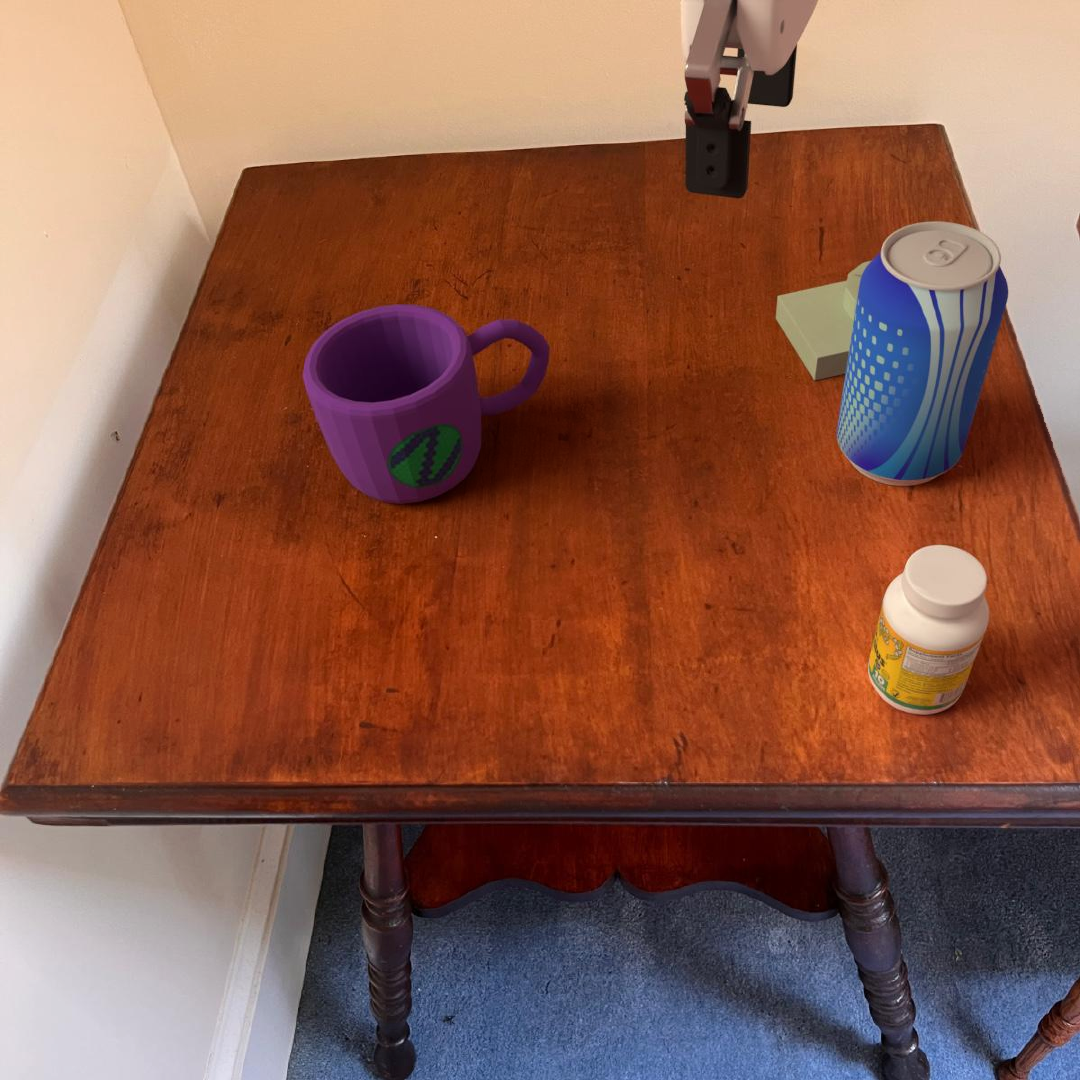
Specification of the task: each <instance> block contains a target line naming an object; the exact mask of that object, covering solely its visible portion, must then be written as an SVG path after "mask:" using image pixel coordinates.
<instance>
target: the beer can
mask: <svg viewBox="0 0 1080 1080" xmlns="http://www.w3.org/2000/svg"><path fill="white" fill-rule="evenodd" d="M870 261H871V262H870V263H869V264H868V266H867V267H866V268H865V270H864V272H863V274H862V276H861V280H860V285H859V291H858V297H857V304H856V310H855V316H854V323H853V329H852V336H851V342H850V348H849V355H848V361H847V367H846V374H844V380H843V385H842V386H843V387H842V393H841V399H840V406H839V412H838V419H837V425H836V441H837V444H838V446H839V448H840V450H841V452H842V453H843V455H844V456H845V457H846V458H847V460H848V461H849V462H850V464H851V465H852V466H853V468H854V469H856V470H857V471H858V472H859V473H860V474H862V476H865V477H866V478H869V479H871V480H873V481H875V482H877V483H879V484H880V483H881V484H884V485H889V486H895V487H911V486H917V485H922V484H924V483H927V482H930V481H932V480H934V479H936V478H937V477H938V476H941V475H942V474H945V473H946V472H948V471H949V470H951V469H952V468H954V467H955V465H956V464H957V463H958V462H959V461H960V460H961V458H962V456H963V454H964V451H965V448H966V445H967V441H968V437H969V434H970V430H971V427H972V423H973V420H974V417H975V413H976V410H977V408H978V407H977V406H978V403H979V399H980V396H981V393H982V389H983V386H984V382H985V379H986V376H987V372H988V370H989V369H988V368H989V365H990V362H991V358H992V356H993V352H994V348H995V345H996V341H997V339H998V334H999V331H1000V327H1001V324H1002V320H1003V317H1004V313H1005V310H1006V307H1007V303H1008V300H1009V299H1008V298H1009V286H1008V281H1007V278H1006V276H1005V274H1004V272H1003V270H1002V268H1001V262H1002V256H1001V251H1000V248H999V247H998V245H997V244H996V242H995V241H994V240H993V239H991V237H989V236H988V235H987V234H985V233H984V232H982V231H980V230H978V229H976V228H973V227H971V226H968V225H966V224H965V225H964V224H961V223H960V224H959V223H957V222H956V223H955V222H950V221H922V222H917V223H912V224H909V225H905V226H903V227H900V228H899V229H896V230H895V231H894V232H892V233H891V234H890V235H889V236H887V237H886V239H885V240H884V241H883V243H882V246H881V250H880V252H878V254H877V255H876V256H875V257H874V258H873V259H872V260H870Z"/></svg>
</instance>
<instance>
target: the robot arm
mask: <svg viewBox="0 0 1080 1080" xmlns="http://www.w3.org/2000/svg"><path fill="white" fill-rule="evenodd" d="M818 2H819V0H680V5H679V6H680V7H679V8H680V41H681V52H682V53H681V54H682V58H683V60H684V62H685V66H684V81H685V82H684V83H685V86H686V91H685V93H684V98H683V101H684V103H683V104H684V106H685V111H684V125H685V177H684V179H685V180H684V181H685V182H684V183H685V184H684V185H685V189H686V191H688V192H689V193H691V194H699V195H707V196H715V197H724V198H732V199H742V198H743V197H744V196H745V195H746V193H747V191H748V189H749V171H750V154H751V136H752V135H751V134H752V120H746V119H745V118H746V115H747V109H748V105H756V106H757V105H758V106H766V107H767V106H769V107H778V108H779V107H780V108H785V107H788V106H789V105H790V104H791V102H792V100H793V98H794V87H795V86H794V85H795V77H796V76H795V75H796V66H797V65H796V64H797V53H798V43H799V41H800V39H801V37H802V35H803V34H804V32H805V30H806V28H807V26H808V24H809V21H810V20H811V17H812V16H813V14H814V11H815V10H816V7H817V5H818ZM726 49H737V53H736V54H737V56H733V55H724V54H725V50H726ZM721 75H724V76H734V77H735V76H736V80H735V84H734V90H733V95H732V97H731V96H730V92H728V91H729V90H728V89H727V88H726V87H723V86H722V87H721V86H720V83H721V80H722V78H721Z"/></svg>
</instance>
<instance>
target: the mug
mask: <svg viewBox="0 0 1080 1080" xmlns="http://www.w3.org/2000/svg"><path fill="white" fill-rule="evenodd" d="M504 339H508V340H514V341H516V342H518V343H520V344H522V345H523V346H525V347H526V348H527V349H528V350H529V351H530V359H529V362H528V366H527V370H526V372H525V374H524V375H523V377H522V379H521V381H520V382H519V383H517V384H516V385H514V386H513V387H511V388H509V389H507V390H504V391H503V392H501V393H498V394H495V395H490V396H487V397H486V396H480V392H479V384H478V378H477V371H476V366H475V360H474V356H476V355H477V354H479V353H481V352H482V351H484V350H485V349H487V348H489V347H490V346H492V345H493V344H495V343H497V342H499V341H502V340H504ZM549 363H550V345H549V343H548V341H547V340H546V338H545V336H544V335H543V334H541V332H540V331H538V330H536V328H534V327H533V326H531V325H529V324H527V323H525V322H522V321H521V320H520V321H519V320H517V319H515V318H513V319H508V318H507V319H506V318H505V319H496V320H494V321H491V322H489V323H487V324H485V325H482V326H481V327H479V328H478V329H476V330H475V331H473V332H472V333H471V334H469V335H468V334H467V333H466V331H465V329H464V328H463V326H461V325H460V324H459V322H457V321H456V320H455V319H454V318H453V317H452V316H450V315H448V314H447V313H444V312H442V311H440V310H438V309H436V308H432V307H427V306H424V305H419V304H404V303H403V304H401V303H397V304H390V305H381V306H376V307H373V308H369V309H366V310H362V311H358V312H357V313H354V314H352V315H350V316H348V317H345V318H344V319H341V320H340V321H338V322H337V323H335V324H333V325H332V326H331V327H328V329H326V330H325V331H324V332H323V333H322V334H321V335H320V336H319V337H318V338H317V339H316V340H315V341H314V342H313V344H312V345H311V348H310V349H309V351H308V353H307V354H306V357H305V360H304V365H303V372H302V379H303V382H304V386H305V390H306V394H307V397H308V399H309V402H310V405H311V408H312V410H313V413H314V416H315V419H316V421H317V424H318V426H319V428H320V431H321V433H322V435H323V437H324V440H325V442H326V445H327V448H328V450H329V451H330V452H329V453H330V454H331V456H332V458H333V459H334V461H335V463H336V465H337V466H338V468H339V470H340V471H341V473H342V474H343V476H344V477H345V478H346V479H347V481H348V482H349V483H350V484H351V485H352V487H354V488H355V489H356V490H358V491H359V492H361V493H363V494H364V495H366V496H367V497H369V498H370V499H373V500H378V501H379V502H383V503H388V504H389V503H390V504H400V505H401V504H402V505H403V504H412V503H420V502H423V501H426V500H430V499H434V498H437V497H438V496H440V495H442V494H445V493H446V492H448V491H450V490H452V489H453V488H455V487H456V486H457V485H458V484H460V483H461V482H462V481H464V480H465V479H466V478H467V476H468V475H469V474H470V472H471V471H472V469H473V468H474V467H475V465H476V462H477V460H478V457H479V453H480V451H481V448H482V417H483V416H484V417H485V416H486V417H487V416H488V417H489V416H494V415H499V414H502V413H505V412H508V411H510V410H513V409H515V408H517V407H518V406H520V405H522V404H524V403H525V402H526V401H528V400H529V398H530V399H531V397H532V396H533V395H534V394H536V393H537V391H538V390H539V388H540V387H541V384H542V382H543V381H544V379H545V376H546V374H547V370H548V367H549Z"/></svg>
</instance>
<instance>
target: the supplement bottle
mask: <svg viewBox="0 0 1080 1080" xmlns="http://www.w3.org/2000/svg"><path fill="white" fill-rule="evenodd" d="M987 585H988V575H987V573H986V570H985V568H984V566H983V565H982V563H981V562H980V560H978V559H977V558H976V557H975V556H974V555H972V554H971V553H969V552H968V551H966V550H964V549H961V548H959V547H956V546H952V545H947V544H933V545H928V546H924V547H921V548H919V549H917V550H916V551H915V552H914V553H912V554H911V555H910V556H909V558H908V559H907V560H906V563H905V566H904V569H903V571H902V572H901V573H900V574H899V575H898V576H896V577H895V578H894V579H893V580H892V581H891V582H890V584H889V585H888V586H887V588H886V589H885V590H886V591H885V593H884V596H883V599H882V602H881V607H880V612H879V617H878V621H877V624H876V628H875V633H874V637H873V641H872V645H871V650H870V653H869V658H868V664H867V672H868V675H867V676H868V678H869V681H870V683H871V685H872V686H873V689H874V690H875V691H876V693H877V694H878V695H879V696H880V697H881V699H882V700H883V701H884V702H886V703H887V704H888V705H890V706H892V707H893V708H895V709H896V710H899V711H901V712H905V713H908V714H913V715H922V716H923V715H925V716H926V715H934V714H937V713H940V712H943V711H946V710H948V709H949V708H951V707H952V706H953V705H955V704H956V702H957V701H959V699H960V697H961V696H962V694H963V692H964V690H965V688H966V685H967V682H968V679H969V677H970V674H971V671H972V668H973V665H974V662H975V660H976V657H977V655H978V652H979V649H980V648H981V647H980V646H981V645H982V642H983V639H984V637H985V634H986V631H987V628H988V625H989V621H990V608H989V603H988V601H987V598H986V596H985V592H986V589H987Z"/></svg>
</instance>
